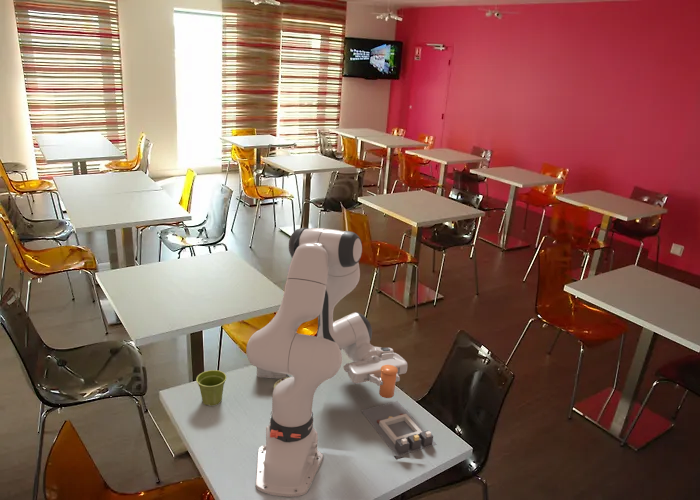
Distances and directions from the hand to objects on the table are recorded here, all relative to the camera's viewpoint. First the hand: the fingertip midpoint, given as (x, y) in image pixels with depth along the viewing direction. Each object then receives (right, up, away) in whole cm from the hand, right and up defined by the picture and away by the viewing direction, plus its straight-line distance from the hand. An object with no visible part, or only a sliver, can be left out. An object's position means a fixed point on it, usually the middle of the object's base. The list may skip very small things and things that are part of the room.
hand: (389, 381), depth 168 cm
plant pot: (-58, -8, +7) cm, 59 cm away
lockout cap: (-1, -4, +2) cm, 5 cm away
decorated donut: (-33, -7, +14) cm, 37 cm away
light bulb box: (-40, -3, +24) cm, 47 cm away
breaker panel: (+2, -15, -1) cm, 15 cm away
